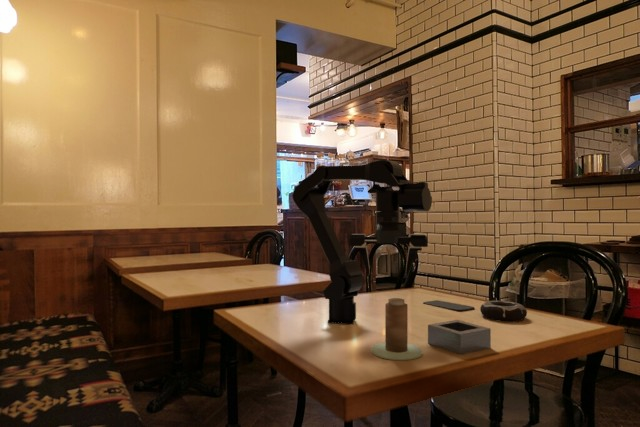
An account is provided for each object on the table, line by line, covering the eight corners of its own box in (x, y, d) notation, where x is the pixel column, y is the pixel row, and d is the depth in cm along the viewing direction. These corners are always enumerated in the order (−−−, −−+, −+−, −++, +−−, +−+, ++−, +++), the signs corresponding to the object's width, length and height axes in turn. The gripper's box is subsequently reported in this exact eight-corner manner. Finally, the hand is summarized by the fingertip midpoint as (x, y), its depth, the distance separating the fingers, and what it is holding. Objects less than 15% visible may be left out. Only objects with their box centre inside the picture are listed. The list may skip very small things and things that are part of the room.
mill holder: (460, 354, 86) (460, 334, 86) (427, 343, 94) (427, 324, 94) (490, 347, 91) (490, 328, 91) (457, 337, 98) (457, 319, 98)
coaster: (370, 358, 83) (370, 355, 83) (372, 343, 93) (372, 341, 93) (423, 361, 82) (423, 358, 82) (420, 346, 92) (420, 343, 92)
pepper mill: (381, 349, 87) (381, 299, 87) (391, 344, 91) (391, 296, 91) (401, 353, 84) (401, 302, 85) (411, 348, 88) (411, 299, 88)
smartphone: (437, 299, 142) (476, 307, 129) (437, 302, 141) (476, 310, 129) (421, 302, 137) (460, 309, 125) (421, 305, 137) (460, 313, 125)
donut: (472, 317, 119) (472, 303, 119) (492, 311, 126) (492, 297, 127) (515, 325, 110) (515, 310, 110) (534, 318, 118) (534, 303, 118)
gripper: (346, 211, 99) (346, 279, 99) (429, 211, 96) (429, 281, 96) (350, 212, 110) (350, 273, 110) (425, 211, 107) (425, 275, 107)
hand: (387, 275), depth 106 cm, fingers open, 9 cm apart
